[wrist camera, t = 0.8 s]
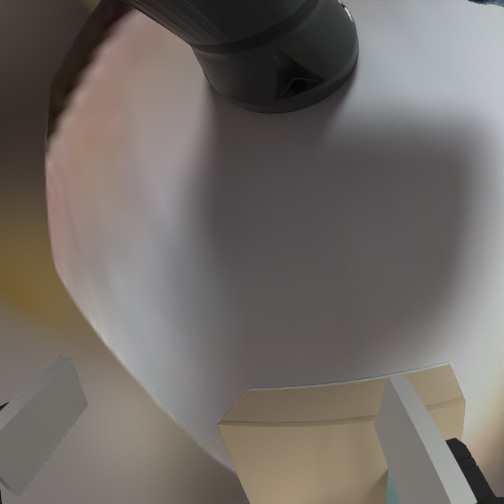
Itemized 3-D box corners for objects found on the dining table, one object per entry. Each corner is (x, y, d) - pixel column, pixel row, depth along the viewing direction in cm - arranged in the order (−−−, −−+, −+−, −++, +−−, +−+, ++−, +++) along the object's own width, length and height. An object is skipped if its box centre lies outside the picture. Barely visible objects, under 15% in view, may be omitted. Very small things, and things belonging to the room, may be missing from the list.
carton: (448, 361, 21) (463, 396, 15) (441, 464, 21) (445, 501, 16) (247, 388, 29) (221, 419, 23) (276, 477, 29) (258, 509, 23)
